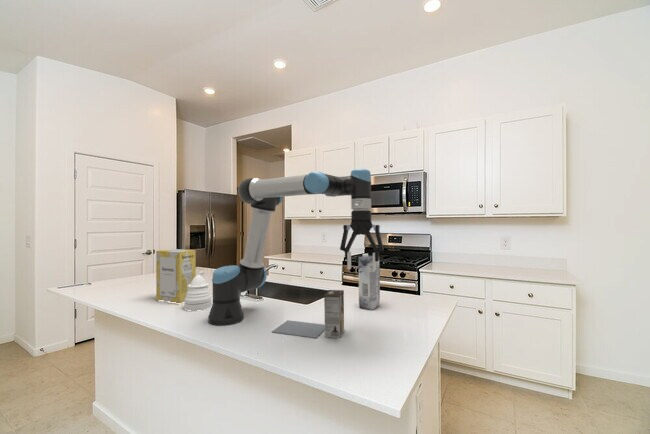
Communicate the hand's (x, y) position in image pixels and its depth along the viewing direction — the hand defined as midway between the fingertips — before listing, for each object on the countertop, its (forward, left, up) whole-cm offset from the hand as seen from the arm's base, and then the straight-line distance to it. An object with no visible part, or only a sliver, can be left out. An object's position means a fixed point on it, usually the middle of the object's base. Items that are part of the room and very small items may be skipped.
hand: (361, 269), depth 113 cm
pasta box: (-110, +18, -26) cm, 114 cm away
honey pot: (-88, +11, -26) cm, 92 cm away
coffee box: (-11, 0, -26) cm, 28 cm away
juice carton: (-5, +39, -26) cm, 47 cm away
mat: (-26, 0, -25) cm, 36 cm away
